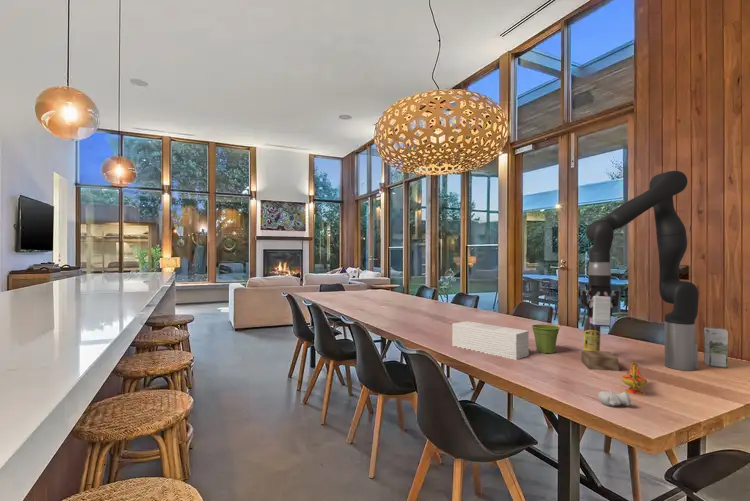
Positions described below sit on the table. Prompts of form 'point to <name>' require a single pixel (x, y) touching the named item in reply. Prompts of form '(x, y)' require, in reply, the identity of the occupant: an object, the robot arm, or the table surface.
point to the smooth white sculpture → (614, 398)
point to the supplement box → (600, 311)
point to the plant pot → (545, 337)
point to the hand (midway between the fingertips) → (599, 317)
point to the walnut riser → (599, 360)
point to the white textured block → (491, 339)
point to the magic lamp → (634, 380)
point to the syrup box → (716, 347)
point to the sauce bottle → (591, 337)
